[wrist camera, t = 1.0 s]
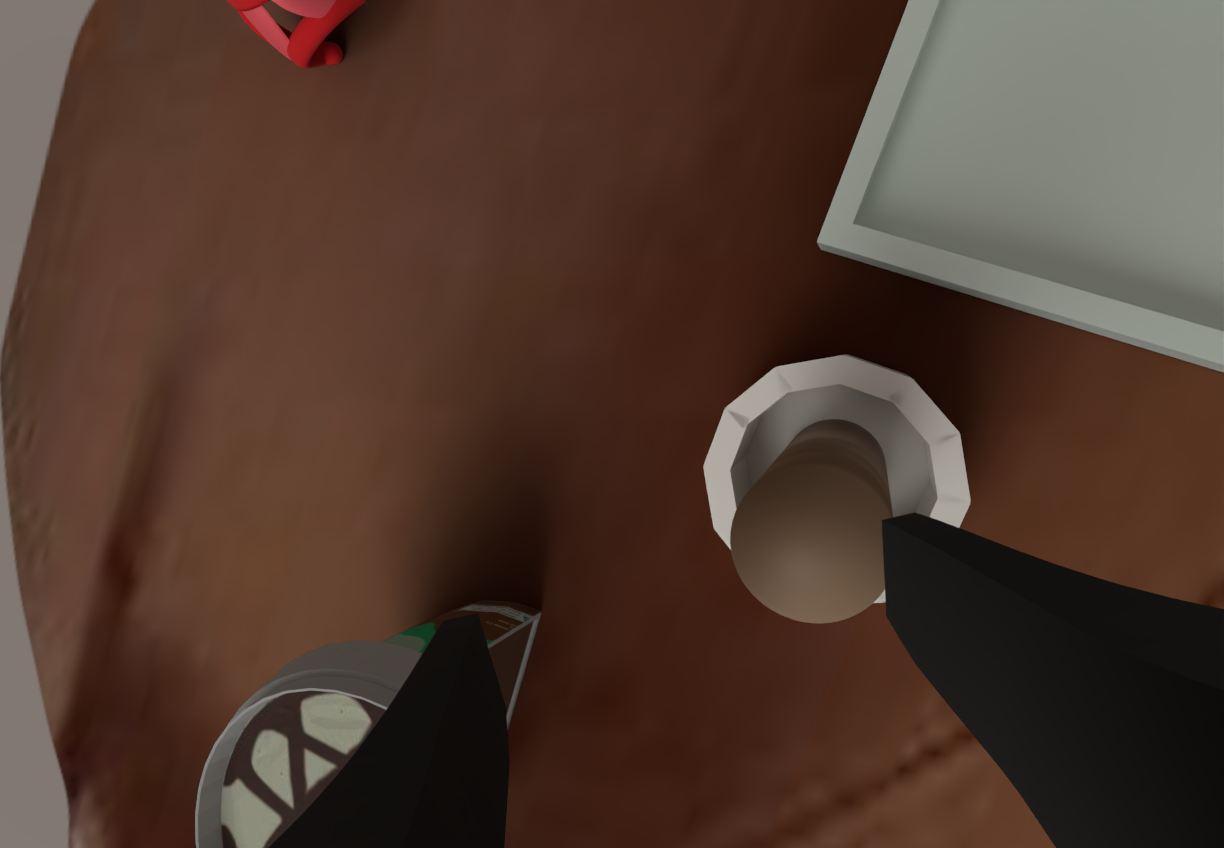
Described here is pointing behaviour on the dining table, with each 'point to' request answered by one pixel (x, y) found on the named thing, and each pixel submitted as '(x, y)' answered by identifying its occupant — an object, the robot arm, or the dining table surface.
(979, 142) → the tray
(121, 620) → the dining table surface
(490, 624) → the food container
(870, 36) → the dining table surface
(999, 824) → the dining table surface
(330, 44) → the red helmet
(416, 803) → the robot arm
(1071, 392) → the dining table surface
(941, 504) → the cup
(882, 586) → the dowel
